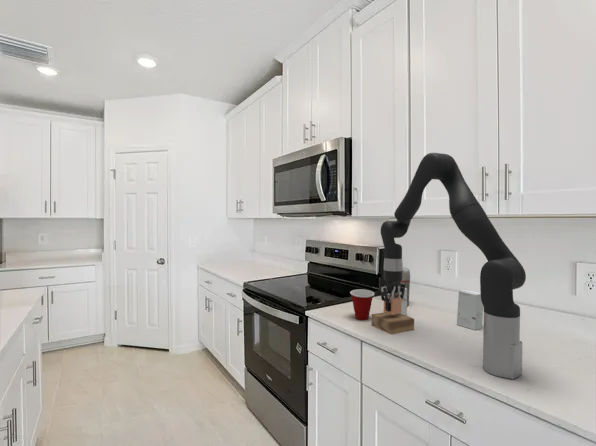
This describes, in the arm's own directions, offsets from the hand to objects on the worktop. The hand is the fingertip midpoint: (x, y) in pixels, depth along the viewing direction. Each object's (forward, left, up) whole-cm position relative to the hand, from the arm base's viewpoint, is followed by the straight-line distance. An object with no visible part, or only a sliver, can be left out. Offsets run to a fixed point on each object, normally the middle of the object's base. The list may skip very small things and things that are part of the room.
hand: (392, 309), depth 138 cm
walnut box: (0, 0, -8) cm, 8 cm away
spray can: (+21, -34, -8) cm, 41 cm away
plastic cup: (+16, +1, -8) cm, 18 cm away
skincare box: (-18, -28, -8) cm, 34 cm away
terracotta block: (0, 0, -1) cm, 1 cm away
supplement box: (+12, -18, -8) cm, 23 cm away
